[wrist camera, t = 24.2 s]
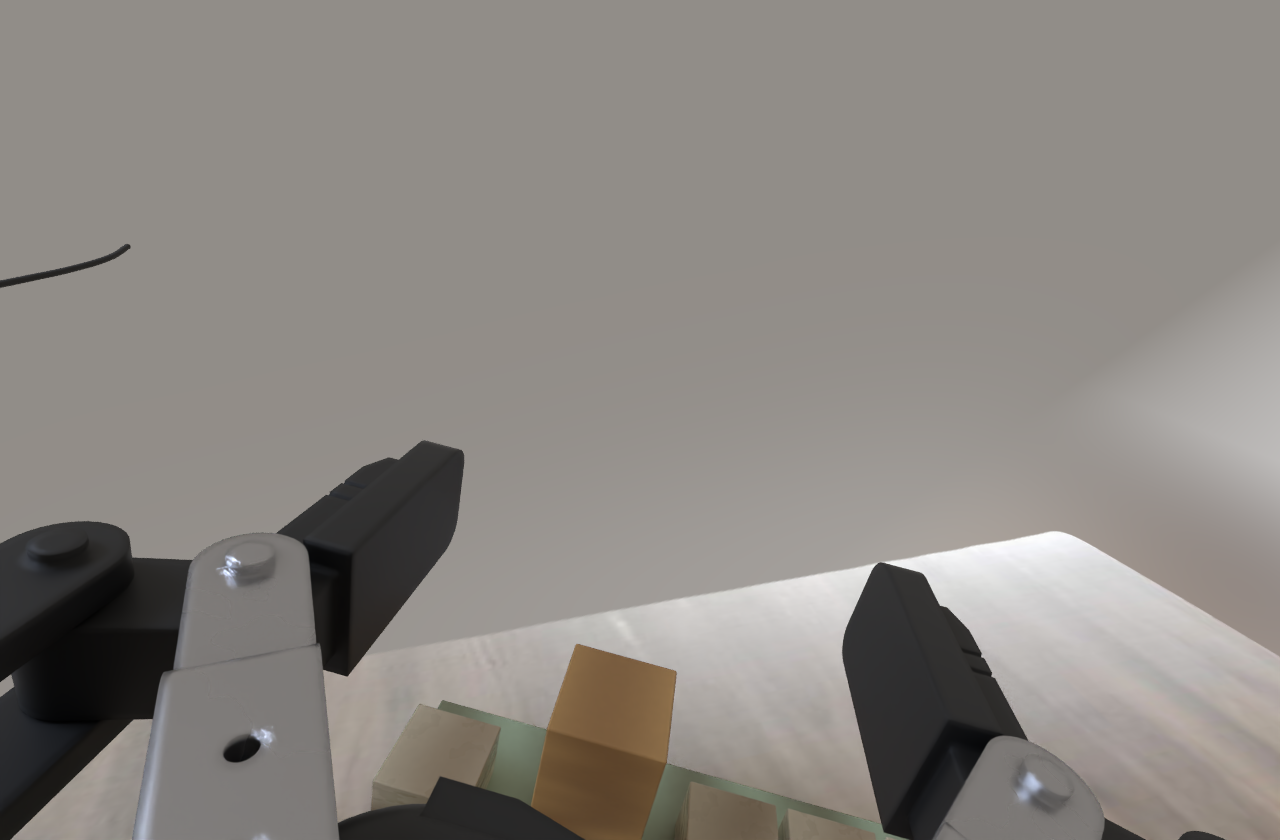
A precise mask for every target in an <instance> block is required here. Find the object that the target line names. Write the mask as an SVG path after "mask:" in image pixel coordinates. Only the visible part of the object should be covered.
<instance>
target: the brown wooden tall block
mask: <svg viewBox="0 0 1280 840" xmlns="http://www.w3.org/2000/svg"><path fill="white" fill-rule="evenodd" d="M676 675H677V672H676V671H674V670H671V669H667V668H663V667H660V666H656V665H652V664H649V663H645V662H642V661H638V660H634V659H631V658H627V657H623V656H620V655H616V654H612V653H609V652H605V651H602V650H598V649H594V648H591V647H587V646H583V645H580V644H576V645H575V648H574V651H573V654H572V657H571V660H570V663H569V666H568V669H567V672H566V675H565V677H564V680H563V683H562V686H561V689H560V692H559V695H558V698H557V701H556V704H555V707H554V710H553V713H552V716H551V719H550V721H549V724H548V727H547V731H546V736H545V741H544V745H543V750H542V755H541V760H540V764H539V769H538V774H537V779H536V783H535V788H534V793H533V797H532V802H531V807H533V808H534V809H536V810H538V811H539V812H541V813H542V814H544V815H546V816H547V817H549V818H551V819H552V820H554V821H556V822H557V823H559V824H560V825H562V826H564V827H565V828H567V829H569V830H570V831H572V832H574V833H575V834H577V835H578V836H580V837H582V838H583V839H585V840H642V836H643V833H644V830H645V827H646V824H647V821H648V818H649V815H650V812H651V809H652V806H653V803H654V800H655V797H656V794H657V791H658V788H659V784H660V781H661V778H662V775H663V772H664V769H665V766H666V763H667V755H668V746H669V737H670V729H671V720H672V711H673V702H674V693H675V684H676Z"/></svg>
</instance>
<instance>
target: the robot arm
mask: <svg viewBox="0 0 1280 840" xmlns="http://www.w3.org/2000/svg"><path fill="white" fill-rule="evenodd" d="M128 249H130V245H129V244H125V245H124V246H122V247H121V248H120V249H118V250H117V251H115V252H113V253H111V254H109V255H107V256H104V257H101V258H98V259H95V260H92V261H88V262H84V263H81V264H77V265H73V266H69V267H65V268H60V269H56V270H51V271H46V272H41V273H36V274H31V275H26V276H21V277H16V278H11V279H6V280H0V288H1V287H6V286H11V285H16V284H21V283H25V282H30V281H34V280H39V279H44V278H49V277H54V276H58V275H62V274H67V273H71V272H74V271H78V270H82V269H85V268H89V267H93V266H96V265H99V264H102V263H105V262H108V261H110V260H112V259H115V258H116V257H118V256H120V255H121V254H123V253H124V252H126V251H127V250H128ZM463 468H464V454H463V451H462V450H459V449H455V448H451V447H448V446H444V445H440V444H436V443H433V442H429V441H421V442H420V443H419V444H417V445H416V446H415V447H414V448H413V449H411V450H410V451H409V452H408V453H406V454H405V455H404V456H403V457H402V458H401V459H399V460H397V459H393V458H386V459H383V460H381V461H378V462H375V463H372V464H369V465H366V466H364V467H362V468H361V469H359V470H358V471H357V472H355V473H354V474H353V475H351V476H350V477H349V478H348V479H346V480H345V483H344V484H343V483H341V484H340V485H338V487H336V488H334V489H333V490H332V491H331V492H330V494H329V496H328V495H325V496H324V497H323V498H321V499H320V500H319V501H318V502H316V503H315V504H314V505H312V506H311V507H310V508H308V509H307V510H306V511H304V512H303V513H302V514H301V515H299V516H298V517H297V518H295V519H294V520H293V521H291V522H290V523H289V524H288V525H286V526H285V527H284V528H282V529H281V530H280V531H278V532H277V533H276V534H274V533H250V534H243V535H238V536H234V537H230V538H227V539H225V540H222V541H219V542H217V543H214V544H212V545H211V546H209V547H207V548H206V549H204V550H203V551H201V552H200V553H199V554H198V555H197V556H196V557H195V558H194V559H193V560H176V559H153V558H132V555H131V547H130V539H129V536H128V535H127V533H126V532H125V531H124V530H122V529H121V528H119V527H117V526H114V525H110V524H107V523H101V522H89V521H86V522H85V521H84V522H68V523H60V524H53V525H49V526H44V527H40V528H37V529H34V530H30V531H27V532H25V533H22V534H19V535H17V536H15V537H13V538H10V539H8V540H6V541H4V542H3V543H1V544H0V682H1V681H2V680H4V679H5V678H6V677H8V676H9V675H12V679H13V683H14V688H12V689H11V690H9V691H8V692H7V693H5V694H4V695H3V696H1V697H0V840H10V839H11V838H12V837H13V836H14V835H15V834H17V833H18V832H19V831H20V830H21V829H22V828H23V827H24V826H25V825H26V824H27V823H28V822H29V821H30V820H31V819H32V818H33V817H34V816H35V815H36V814H37V813H38V812H39V811H40V810H41V809H42V808H43V807H44V806H45V805H46V804H47V803H48V802H49V801H50V800H51V799H52V798H53V797H55V796H56V795H57V794H58V793H59V792H60V791H61V790H62V789H63V788H64V787H65V786H66V785H67V784H68V783H69V782H70V781H71V780H72V779H73V778H74V777H75V776H76V775H77V774H78V773H79V772H80V771H81V770H82V769H83V768H84V767H85V766H86V765H87V764H88V763H89V762H90V761H91V760H92V759H94V758H95V757H96V756H97V755H98V754H99V753H100V752H101V751H102V750H103V749H104V748H105V747H106V746H107V745H108V744H109V743H110V742H111V741H112V740H113V739H114V738H115V737H116V736H117V735H118V734H119V733H120V732H121V731H122V730H123V729H124V728H125V727H126V726H127V725H128V724H129V723H130V722H132V721H133V720H134V719H153V722H152V728H151V734H150V739H149V745H148V751H147V757H146V762H145V768H144V774H143V779H142V785H141V791H140V797H139V802H138V808H137V814H136V820H135V825H134V831H133V837H132V840H585V839H583V838H582V837H580V836H578V835H577V834H575V833H574V832H572V831H570V830H569V829H567V828H565V827H564V826H562V825H560V824H559V823H557V822H556V821H554V820H552V819H551V818H549V817H547V816H546V815H544V814H542V813H541V812H539V811H538V810H536V809H534V808H533V807H531V806H529V805H528V804H526V803H524V802H523V801H521V800H520V799H517V798H513V797H510V796H506V795H503V794H500V793H496V792H493V791H489V790H486V789H483V788H479V787H476V786H472V785H469V784H465V783H462V782H459V781H455V780H452V779H448V778H445V777H442V776H440V777H439V779H438V781H437V783H436V785H435V787H434V789H433V791H432V793H431V795H430V797H429V799H428V801H427V803H426V804H406V805H397V806H390V807H385V808H381V809H376V810H372V811H368V812H365V813H362V814H360V815H357V816H354V817H351V818H348V819H345V820H343V821H341V822H339V823H338V821H337V811H336V801H335V790H334V780H333V770H332V759H331V749H330V739H329V728H328V718H327V708H326V697H325V687H324V677H323V670H326V671H330V672H333V673H337V674H340V675H344V676H347V677H348V675H349V674H350V673H351V671H352V670H353V669H354V668H355V666H356V665H357V664H358V662H359V661H360V660H361V659H362V657H363V656H364V655H365V653H366V652H367V651H368V650H369V648H370V647H371V645H372V644H373V643H374V642H375V641H376V639H377V638H378V637H379V635H380V634H381V633H382V632H383V630H384V629H385V627H386V626H387V625H388V624H389V622H390V621H391V620H392V619H393V617H394V616H395V615H396V614H397V612H398V611H399V610H400V609H401V607H402V606H403V605H404V603H405V602H406V601H407V600H408V598H409V597H410V596H411V594H412V593H413V592H414V590H415V589H416V588H417V586H418V585H419V584H420V583H421V582H422V580H423V579H424V578H425V576H426V575H427V574H428V573H429V571H430V570H431V569H432V567H433V566H434V565H435V564H436V562H437V561H438V559H439V558H440V557H441V556H442V554H443V553H444V552H445V551H446V549H447V547H448V546H449V544H450V542H451V539H452V537H453V534H454V532H455V528H456V524H457V519H458V511H459V502H460V494H461V484H462V477H463ZM981 654H982V653H981V651H980V650H979V648H978V646H977V644H976V642H975V640H974V638H973V636H972V635H971V633H970V631H969V630H968V629H967V628H966V627H965V626H964V625H963V623H962V622H961V621H960V620H959V619H958V618H957V617H956V616H955V615H954V614H953V613H952V612H951V611H950V610H949V609H948V608H947V607H943V606H940V605H939V603H938V601H937V599H936V597H935V595H934V593H933V591H932V589H931V587H930V585H929V583H928V581H927V579H926V577H925V576H924V575H923V574H922V573H920V572H916V571H912V570H908V569H905V568H901V567H897V566H893V565H890V564H886V563H878V564H877V565H876V566H875V567H874V568H873V570H872V572H871V574H870V576H869V578H868V580H867V583H866V585H865V587H864V589H863V592H862V594H861V596H860V598H859V600H858V603H857V605H856V607H855V609H854V612H853V614H852V616H851V618H850V620H849V623H848V625H847V628H846V631H845V634H844V639H843V648H842V656H843V663H844V667H845V671H846V676H847V680H848V684H849V688H850V692H851V697H852V701H853V705H854V709H855V714H856V718H857V722H858V726H859V731H860V735H861V739H862V743H863V747H864V752H865V756H866V760H867V764H868V769H869V773H870V777H871V781H872V786H873V790H874V794H875V798H876V802H877V807H878V811H879V815H880V819H881V824H882V828H883V832H884V833H887V834H891V835H894V836H898V837H901V838H905V839H908V840H1145V839H1143V838H1142V837H1140V836H1138V835H1136V834H1134V833H1132V832H1130V831H1128V830H1126V829H1124V828H1122V827H1121V826H1119V825H1117V824H1115V823H1113V822H1111V821H1109V820H1107V819H1106V818H1104V814H1103V811H1102V808H1101V806H1100V804H1099V802H1098V800H1097V798H1096V797H1095V795H1094V794H1093V792H1092V791H1091V789H1090V788H1089V787H1088V786H1087V784H1086V783H1085V782H1084V781H1083V780H1082V779H1081V778H1080V777H1079V776H1078V775H1077V774H1076V773H1075V772H1074V771H1073V770H1072V769H1071V768H1070V767H1069V766H1068V765H1067V764H1065V763H1064V762H1063V761H1062V760H1060V759H1059V758H1057V757H1056V756H1055V755H1053V754H1052V753H1050V752H1049V751H1047V750H1045V749H1044V748H1042V747H1040V746H1038V745H1036V744H1034V743H1032V742H1029V741H1028V739H1027V737H1026V735H1025V734H1024V732H1023V730H1022V728H1021V726H1020V724H1019V722H1018V720H1017V719H1016V717H1015V715H1014V713H1013V711H1012V709H1011V707H1010V706H1009V704H1008V702H1007V700H1006V698H1005V696H1004V694H1003V692H1002V691H1001V689H1000V687H999V685H998V683H997V681H996V679H995V678H993V677H991V675H992V672H991V670H990V668H989V666H988V664H987V663H986V661H985V659H984V658H981ZM1178 840H1225V839H1223V838H1220V837H1218V836H1215V835H1213V834H1209V833H1205V832H1200V831H1190V832H1186V833H1185V834H1183V835H1182V836H1181V837H1180V838H1179V839H1178Z"/></svg>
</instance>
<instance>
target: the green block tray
mask: <svg viewBox="0 0 1280 840" xmlns="http://www.w3.org/2000/svg"><path fill="white" fill-rule="evenodd" d="M546 731H547V730H546V729H543V728H539V727H536V726H532V725H528V724H525V723H521V722H518V721H514V720H511V719H507V718H504V717H500V716H497V715H493V714H490V713H486V712H482V711H479V710H475V709H472V708H468V707H465V706H461V705H458V704H454V703H451V702H447V701H444V700H442V702H441V704H440V705H439V707H438V709H435V708H432V707H428V706H425V705H421V704H419V706H418V707H417V709H416V710H415V712H414V714H413V715H412V717H411V719H410V720H409V722H408V724H407V725H406V727H405V729H404V730H403V732H402V734H401V735H400V737H399V739H398V740H397V742H396V744H395V745H394V747H393V749H392V750H391V752H390V754H389V755H388V757H387V758H386V760H385V762H384V763H383V765H382V767H381V768H380V770H379V772H378V773H377V775H376V777H375V778H374V780H373V786H372V803H371V811H372V810H376V809H381V808H385V807H390V806H397V805H406V804H426V803H427V801H428V799H429V797H430V795H431V793H432V791H433V789H434V787H435V785H436V783H437V781H438V779H439V777H440V776H442V777H445V778H448V779H452V780H455V781H459V782H462V783H465V784H469V785H472V786H476V787H479V788H483V789H486V790H489V791H493V792H496V793H500V794H503V795H506V796H510V797H513V798H517V799H520V800H521V801H523V802H524V803H526V804H528V805H529V806H531V802H532V797H533V793H534V788H535V783H536V779H537V774H538V769H539V764H540V760H541V755H542V750H543V745H544V741H545V736H546ZM642 840H908V839H905V838H901V837H898V836H894V835H891V834H887V833H884V832H883V828H882V824H879V823H875V822H872V821H868V820H865V819H861V818H858V817H854V816H850V815H847V814H843V813H840V812H836V811H833V810H829V809H826V808H822V807H819V806H815V805H812V804H808V803H804V802H801V801H797V800H794V799H790V798H787V797H783V796H780V795H776V794H773V793H769V792H766V791H762V790H758V789H755V788H751V787H748V786H744V785H741V784H737V783H734V782H730V781H727V780H723V779H720V778H716V777H712V776H709V775H705V774H702V773H698V772H695V771H691V770H688V769H684V768H681V767H677V766H674V765H670V764H666V766H665V769H664V772H663V775H662V778H661V781H660V784H659V788H658V791H657V794H656V797H655V800H654V803H653V806H652V809H651V812H650V815H649V818H648V821H647V824H646V827H645V830H644V833H643V836H642Z"/></svg>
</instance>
